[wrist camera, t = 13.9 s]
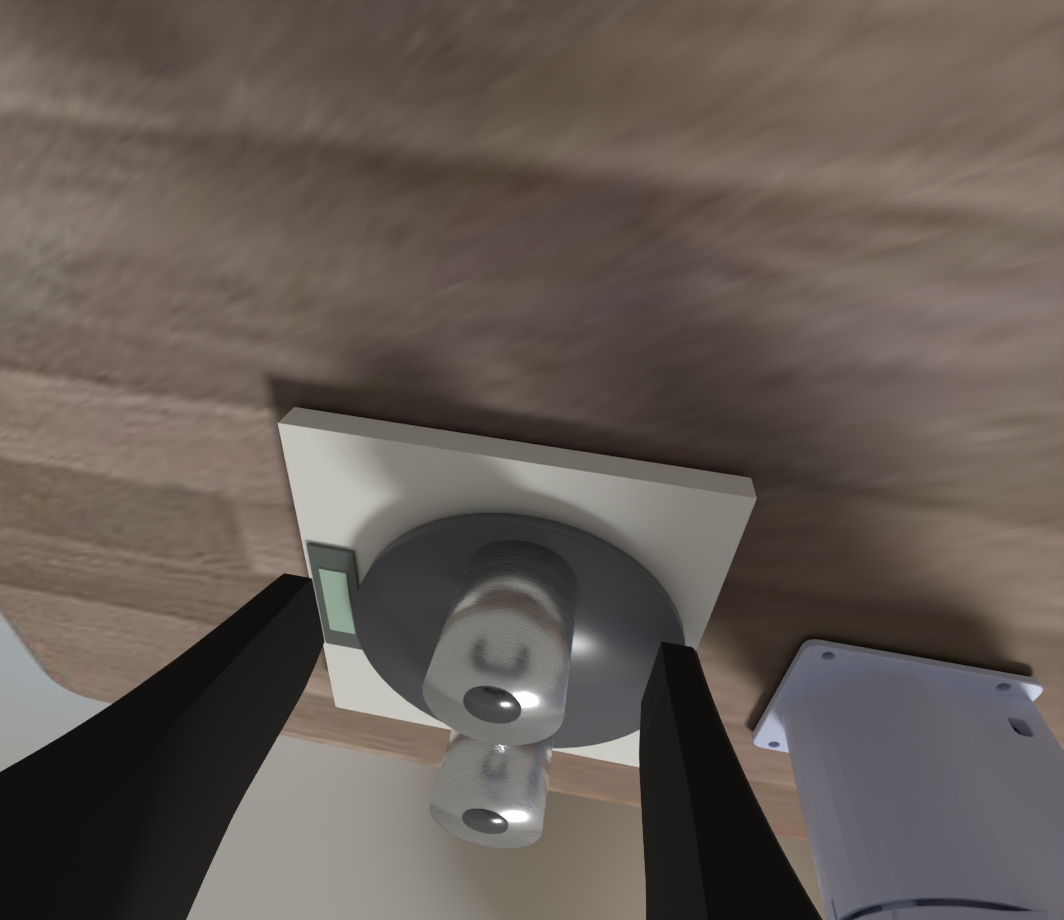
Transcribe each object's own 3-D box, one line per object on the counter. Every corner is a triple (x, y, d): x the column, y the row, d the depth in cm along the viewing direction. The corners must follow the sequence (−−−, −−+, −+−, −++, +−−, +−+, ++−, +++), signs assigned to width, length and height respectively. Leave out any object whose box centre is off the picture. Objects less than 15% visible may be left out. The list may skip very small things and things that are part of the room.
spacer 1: (580, 545, 20) (564, 669, 16) (578, 629, 22) (563, 755, 18) (458, 535, 20) (412, 651, 16) (469, 617, 23) (431, 736, 19)
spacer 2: (560, 680, 24) (544, 805, 20) (555, 736, 27) (540, 857, 23) (460, 665, 25) (424, 783, 21) (464, 722, 27) (433, 837, 23)
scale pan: (726, 548, 20) (729, 564, 19) (647, 755, 28) (648, 771, 27) (344, 485, 21) (335, 498, 20) (374, 701, 29) (368, 716, 28)
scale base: (751, 477, 20) (758, 505, 19) (649, 746, 30) (650, 777, 29) (294, 407, 21) (271, 428, 20) (345, 687, 32) (332, 713, 30)
